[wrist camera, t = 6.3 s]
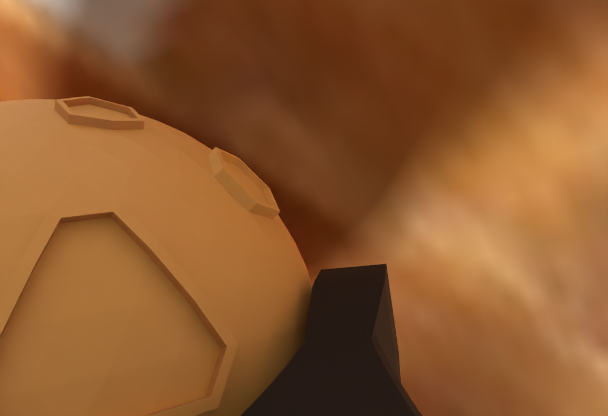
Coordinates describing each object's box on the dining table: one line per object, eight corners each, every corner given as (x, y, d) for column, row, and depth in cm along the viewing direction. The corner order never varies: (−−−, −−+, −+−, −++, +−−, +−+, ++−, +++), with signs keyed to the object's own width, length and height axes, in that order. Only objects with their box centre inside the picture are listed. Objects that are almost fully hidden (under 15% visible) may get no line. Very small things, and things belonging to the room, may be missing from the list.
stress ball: (30, 270, 17) (82, 621, 13) (-478, 169, 8) (-759, 1195, 4) (296, 137, 15) (443, 497, 11) (44, -186, 6) (351, 1011, 2)
